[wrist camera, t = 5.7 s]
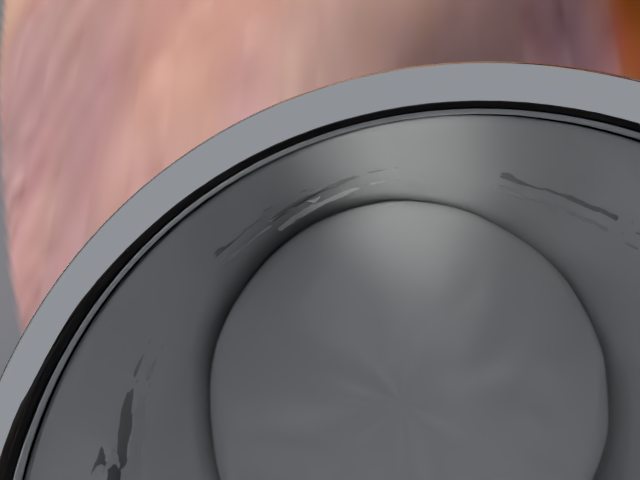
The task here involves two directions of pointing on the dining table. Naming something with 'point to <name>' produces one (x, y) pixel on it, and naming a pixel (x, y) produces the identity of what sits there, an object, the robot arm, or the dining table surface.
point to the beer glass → (358, 294)
